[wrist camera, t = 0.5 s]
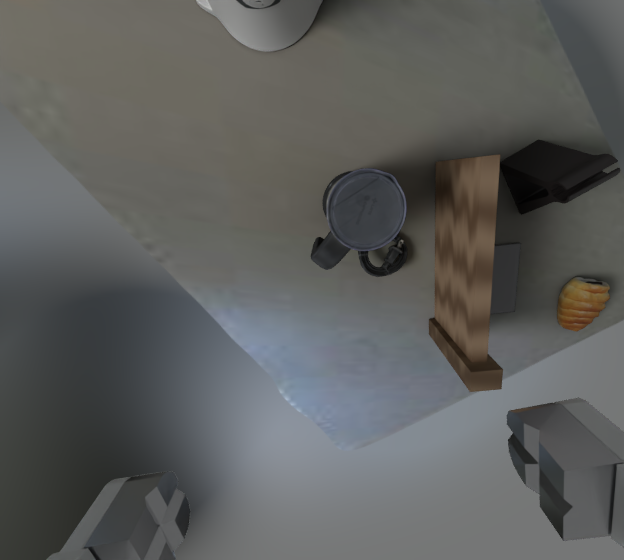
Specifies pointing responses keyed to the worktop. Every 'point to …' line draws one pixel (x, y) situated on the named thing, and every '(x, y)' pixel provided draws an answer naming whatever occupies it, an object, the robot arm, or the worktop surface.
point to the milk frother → (363, 220)
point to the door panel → (466, 267)
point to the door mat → (505, 278)
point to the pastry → (581, 302)
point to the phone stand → (553, 174)
